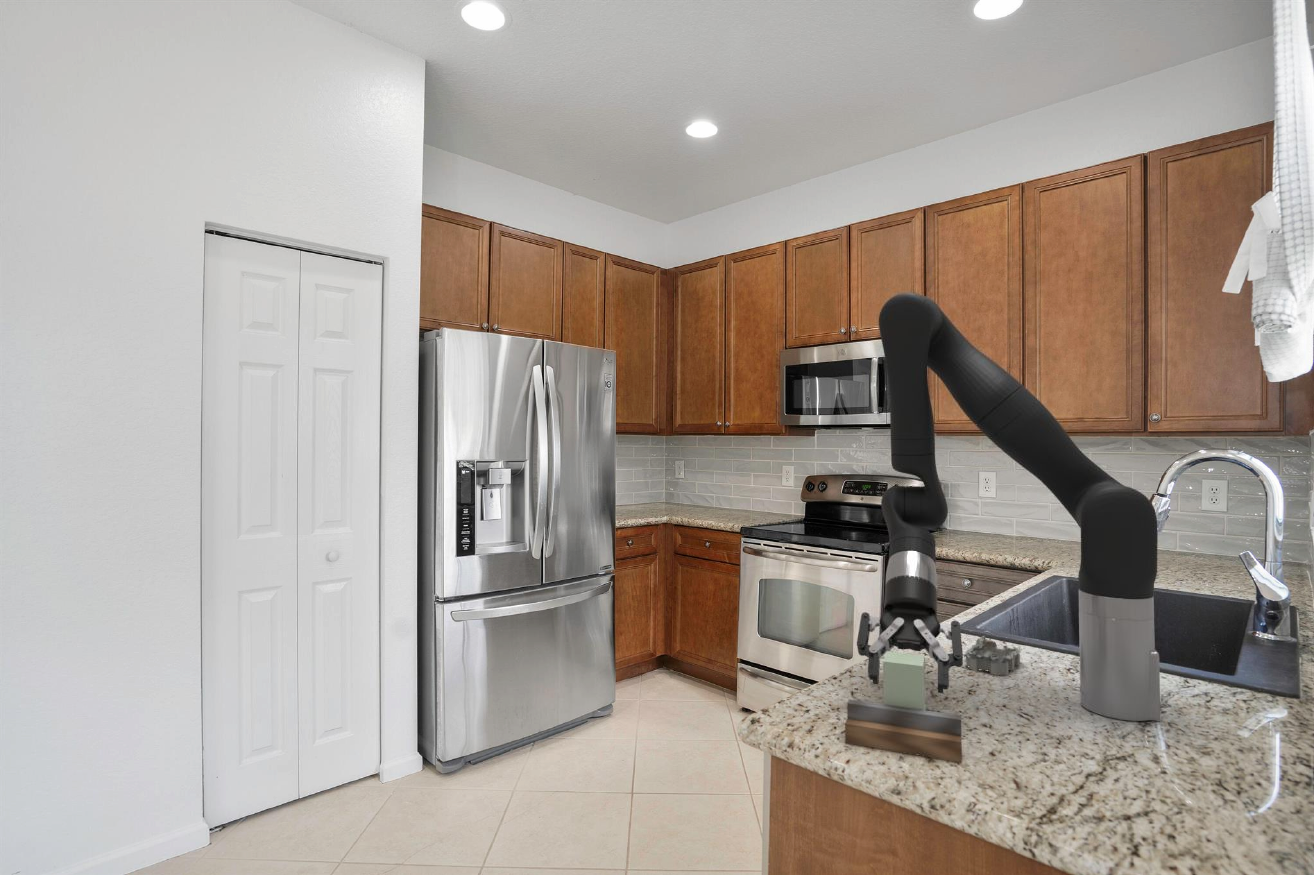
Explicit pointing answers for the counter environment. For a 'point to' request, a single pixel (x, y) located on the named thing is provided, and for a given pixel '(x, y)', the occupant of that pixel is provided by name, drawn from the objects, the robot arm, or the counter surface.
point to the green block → (904, 680)
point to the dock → (904, 730)
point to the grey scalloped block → (992, 657)
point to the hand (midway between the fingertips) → (907, 686)
